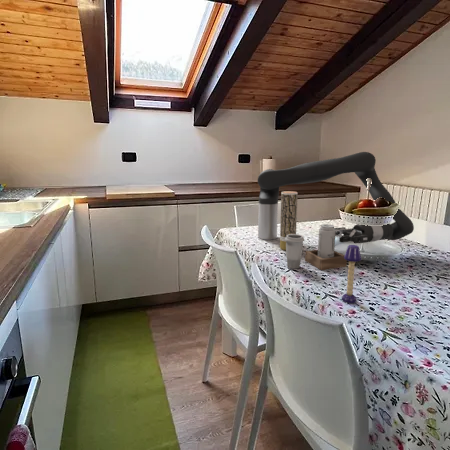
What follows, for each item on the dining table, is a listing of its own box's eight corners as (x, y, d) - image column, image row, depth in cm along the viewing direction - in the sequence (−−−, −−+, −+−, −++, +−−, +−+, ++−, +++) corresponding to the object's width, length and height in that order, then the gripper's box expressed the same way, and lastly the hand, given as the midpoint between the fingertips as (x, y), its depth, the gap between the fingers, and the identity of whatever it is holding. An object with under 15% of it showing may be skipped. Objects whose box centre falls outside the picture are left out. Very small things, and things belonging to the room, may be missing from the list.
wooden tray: (305, 260, 136) (305, 251, 135) (328, 257, 139) (329, 248, 138) (321, 270, 125) (322, 259, 125) (346, 266, 129) (347, 256, 128)
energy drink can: (331, 267, 128) (333, 228, 125) (315, 264, 131) (317, 226, 128) (334, 262, 133) (337, 225, 130) (319, 260, 136) (321, 223, 133)
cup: (304, 264, 131) (305, 234, 128) (302, 270, 125) (303, 239, 122) (285, 262, 134) (286, 233, 131) (282, 268, 127) (283, 237, 125)
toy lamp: (338, 296, 104) (342, 243, 100) (353, 296, 104) (357, 243, 100) (345, 303, 99) (349, 248, 95) (360, 303, 100) (365, 248, 96)
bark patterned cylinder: (295, 251, 147) (297, 193, 142) (279, 250, 149) (280, 193, 143) (295, 246, 154) (297, 191, 148) (280, 246, 155) (281, 191, 150)
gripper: (356, 219, 141) (322, 223, 136) (381, 227, 128) (345, 231, 123) (354, 237, 143) (321, 241, 138) (380, 246, 130) (344, 251, 125)
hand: (332, 236), depth 131 cm, fingers open, 8 cm apart
